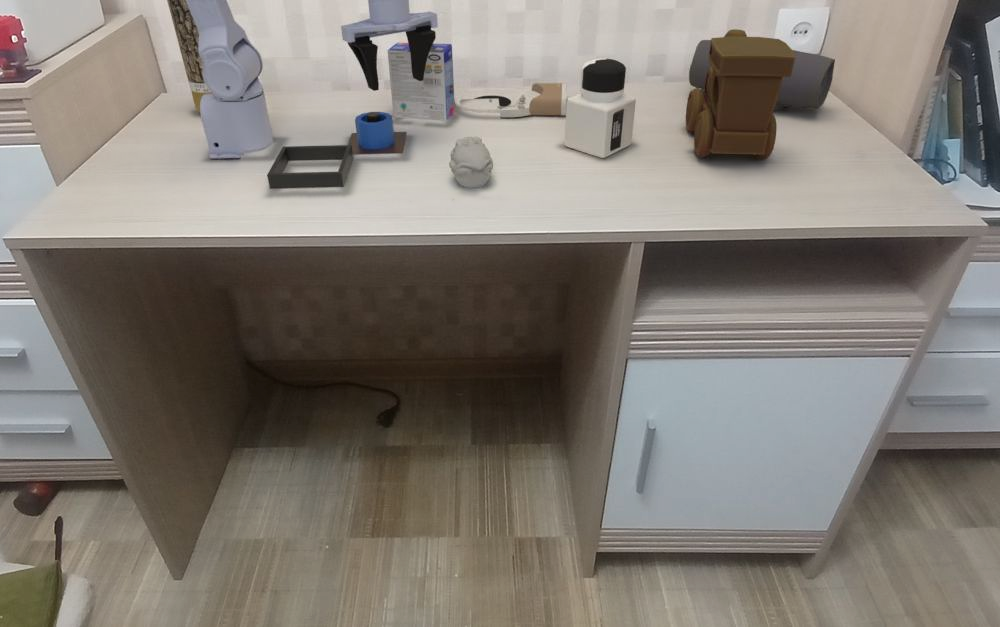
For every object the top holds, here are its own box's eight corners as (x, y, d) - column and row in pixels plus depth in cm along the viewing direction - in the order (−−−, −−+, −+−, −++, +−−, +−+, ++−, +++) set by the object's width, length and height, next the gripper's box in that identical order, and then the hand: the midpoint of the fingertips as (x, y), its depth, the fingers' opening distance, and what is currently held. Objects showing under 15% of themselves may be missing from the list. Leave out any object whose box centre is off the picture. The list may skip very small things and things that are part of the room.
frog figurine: (484, 174, 103) (483, 128, 99) (501, 193, 98) (500, 145, 94) (444, 180, 101) (441, 134, 97) (459, 200, 96) (457, 152, 92)
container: (632, 145, 112) (640, 61, 104) (603, 159, 107) (610, 73, 100) (592, 133, 116) (598, 51, 108) (563, 146, 111) (567, 62, 104)
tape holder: (344, 160, 108) (339, 125, 104) (352, 138, 115) (347, 104, 112) (403, 159, 108) (400, 123, 105) (407, 137, 115) (404, 103, 112)
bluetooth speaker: (683, 99, 129) (691, 42, 123) (702, 85, 135) (711, 31, 130) (810, 123, 119) (826, 63, 113) (825, 108, 125) (840, 49, 119)
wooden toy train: (776, 172, 103) (803, 55, 93) (696, 170, 104) (715, 54, 94) (748, 123, 119) (769, 19, 109) (680, 121, 120) (695, 18, 110)
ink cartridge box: (456, 115, 124) (452, 28, 115) (448, 126, 119) (444, 37, 111) (403, 111, 125) (395, 26, 117) (393, 122, 121) (384, 34, 112)
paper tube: (244, 107, 128) (210, -46, 113) (213, 118, 123) (174, -39, 109) (219, 101, 131) (183, -49, 116) (188, 111, 126) (146, -43, 112)
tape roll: (356, 149, 108) (353, 124, 106) (360, 136, 113) (357, 112, 111) (392, 149, 109) (390, 123, 106) (395, 135, 113) (393, 111, 111)
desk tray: (271, 194, 98) (266, 174, 96) (286, 165, 106) (282, 146, 105) (344, 193, 98) (341, 173, 97) (354, 163, 107) (351, 144, 105)
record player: (566, 101, 119) (449, 100, 121) (565, 119, 121) (450, 118, 123) (566, 80, 129) (458, 79, 130) (565, 97, 131) (459, 96, 132)
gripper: (352, -3, 92) (364, 100, 100) (446, -16, 99) (451, 81, 107) (329, -11, 97) (343, 87, 105) (421, -23, 104) (427, 70, 112)
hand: (396, 84), depth 106 cm, fingers open, 7 cm apart
